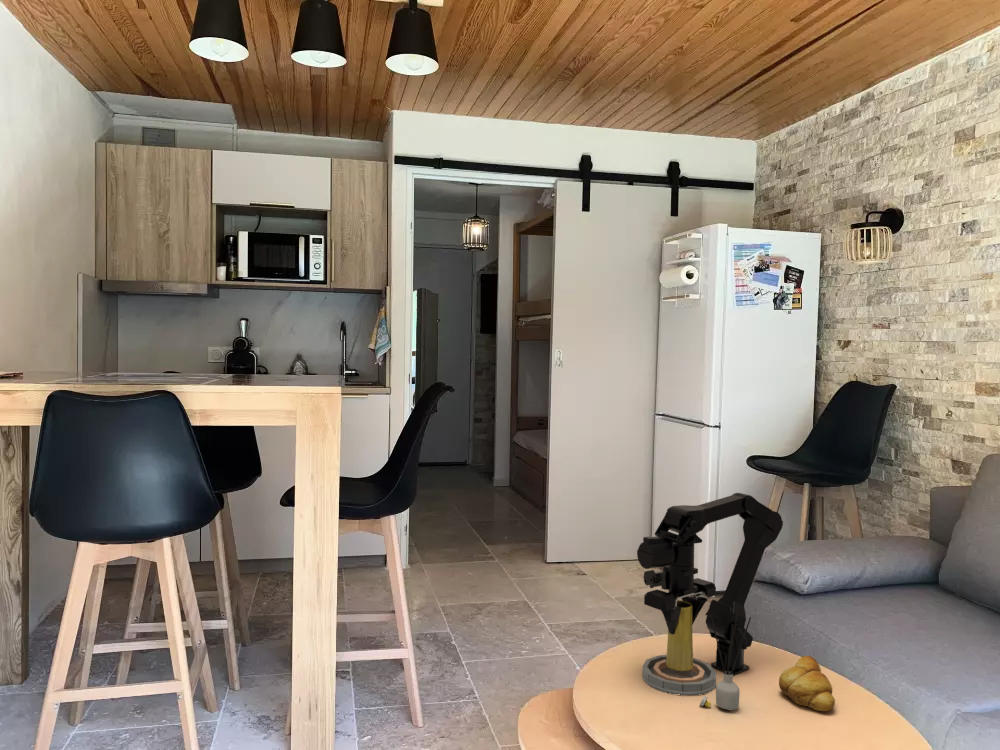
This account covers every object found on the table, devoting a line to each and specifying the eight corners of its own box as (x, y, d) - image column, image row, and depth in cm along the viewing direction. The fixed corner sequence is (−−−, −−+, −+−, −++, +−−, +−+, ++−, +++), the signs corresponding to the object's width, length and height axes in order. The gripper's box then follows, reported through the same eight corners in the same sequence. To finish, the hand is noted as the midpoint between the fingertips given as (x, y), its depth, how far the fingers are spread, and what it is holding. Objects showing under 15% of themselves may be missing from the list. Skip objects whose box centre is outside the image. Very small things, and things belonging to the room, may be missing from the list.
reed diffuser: (745, 703, 157) (747, 610, 157) (755, 719, 151) (757, 621, 150) (696, 701, 158) (698, 608, 157) (705, 717, 151) (707, 620, 150)
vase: (694, 672, 165) (695, 609, 165) (666, 670, 166) (666, 607, 166) (692, 661, 171) (693, 600, 170) (665, 659, 172) (666, 598, 172)
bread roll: (845, 715, 153) (846, 677, 153) (801, 717, 152) (802, 678, 151) (812, 687, 166) (813, 652, 165) (771, 689, 164) (771, 653, 164)
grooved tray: (673, 658, 180) (674, 648, 180) (731, 683, 167) (731, 672, 167) (627, 675, 170) (627, 665, 170) (684, 702, 157) (684, 691, 157)
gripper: (679, 549, 180) (678, 612, 180) (626, 561, 169) (625, 629, 169) (717, 559, 171) (716, 626, 172) (664, 573, 160) (663, 645, 160)
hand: (680, 631), depth 168 cm, fingers closed on vase, 5 cm apart
